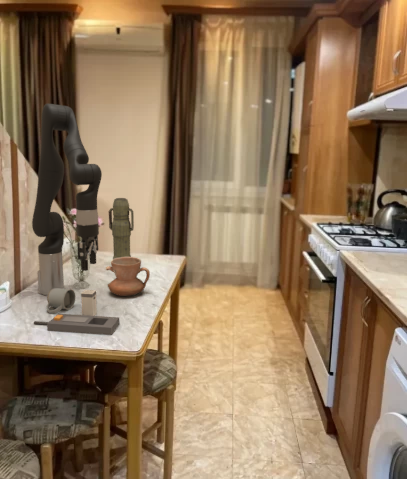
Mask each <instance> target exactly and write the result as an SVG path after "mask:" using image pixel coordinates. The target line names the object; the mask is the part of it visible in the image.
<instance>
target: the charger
mask: <svg viewBox="0 0 407 479" xmlns="http://www.w3.org/2000/svg"><path fill="white" fill-rule="evenodd" d="M80 297H81V315H89V316H97V314H98V313H97V312H98V310H97V290H95V289H93V290H92V289H85V290H83V291H82V292H81V293H80Z"/></svg>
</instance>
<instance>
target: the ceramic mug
mask: <svg viewBox="0 0 407 479" xmlns="http://www.w3.org/2000/svg"><path fill="white" fill-rule="evenodd" d="M46 300H47V305H46V307H45V308H46V309H45V310H46V312H48V313H49V314H52V315H53V314H58V313H60V311H61V310H62V309H63V310H67V311H69V310H71V309H72V308H73V307H74V305H75V304H76V293H75V291H74V289H72V288H64V289H61V288H55V289H52V290H51V291H50V292H49V294H48V295H47V297H46ZM50 307H52V308H55V309H50Z"/></svg>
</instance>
